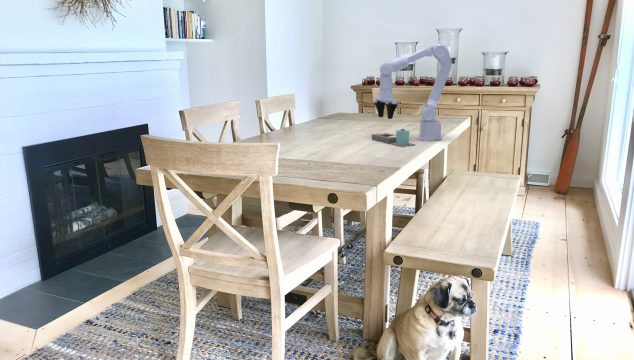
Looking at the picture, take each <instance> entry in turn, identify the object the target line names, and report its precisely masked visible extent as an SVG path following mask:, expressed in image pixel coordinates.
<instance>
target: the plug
mask: <svg viewBox="0 0 634 360" xmlns="http://www.w3.org/2000/svg"><path fill="white" fill-rule="evenodd" d="M395 133H396V134H395V135H396V144H399V145H406V144H409V143H410V130H408V129H405V128H401V129H399V130H396V132H395Z"/></svg>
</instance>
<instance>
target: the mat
mask: <svg viewBox="0 0 634 360" xmlns="http://www.w3.org/2000/svg"><path fill="white" fill-rule="evenodd" d="M389 145H391V146H396V147H399V148H403V147H404V148H405V147H413V146H416V144H415V143H411V142H409V144H406V145H399V144H396V143H390V144H389Z"/></svg>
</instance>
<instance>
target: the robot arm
mask: <svg viewBox="0 0 634 360" xmlns="http://www.w3.org/2000/svg"><path fill="white" fill-rule="evenodd" d="M424 57H434V58H435V59H436V60H437V62H438V64H439V66H440V68H439V71H438V73H437V75H436V78H435V81H434V84H433V86H432V89H431V91H430V94H429V96H428V99H427V102H426V104H425V106H423V107H422V109H421V111H420V112H421V117H422V118H421V119H420V121H419V123H420V124H419V126H420V129H419V137H416V138H415V139H416V140H420V141H423V142H431V141H439V140H440V141H441V140H442V139H443V138H442V124H441V122H440V120H437V119H436V117H437V112H436V110H437V107H438V103H439V101H440V98H441V95H442V93H443V91H444V87H445V85H446V82H447V80H448V77H449V75H450V72H451V70H452V67H453V64H452V60H451V54H450V51H449V49H448V47H447V46H446V45H445V44H443V43H438V44H435V45H431V46H427V47H424V48H422V49H420V50H418V51H416V52H414V53H412V54H410V55H407V56H405V55H398V56H397V57H396V58H393V59H392V60H391V59H389V60H387V62H384V63H383V64H381V65H380V68H379V71H380V75H379V77H380V79H379V97H377V96H376V97H375V102H374V104H373V105H374V106H375V108H376V111H377V115H378V118H384V116H385V115H384V114H385V113H384V112H385V108H386V113H387V114H386V115H387V120H392V119H393V117H394V114H395V111H396V108H397V107H398V104H397V102H398V101H397V99H395V98H393V77H392V75H393V74H392V73H397V72H399V71H401V70H403V69H405V68H406V69H407V68H408V66H409V64H410V63H412V62H415V61H417V60H420V59H421V58H422V59H423V58H424Z"/></svg>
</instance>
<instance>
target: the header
mask: <svg viewBox="0 0 634 360" xmlns="http://www.w3.org/2000/svg"><path fill="white" fill-rule="evenodd" d="M371 140H373V141H377V142H380V143H384V144H387V145H388V144H389V145H391V144H390V143H396V134H392V133H388V132H379V133H372V134H371Z"/></svg>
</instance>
